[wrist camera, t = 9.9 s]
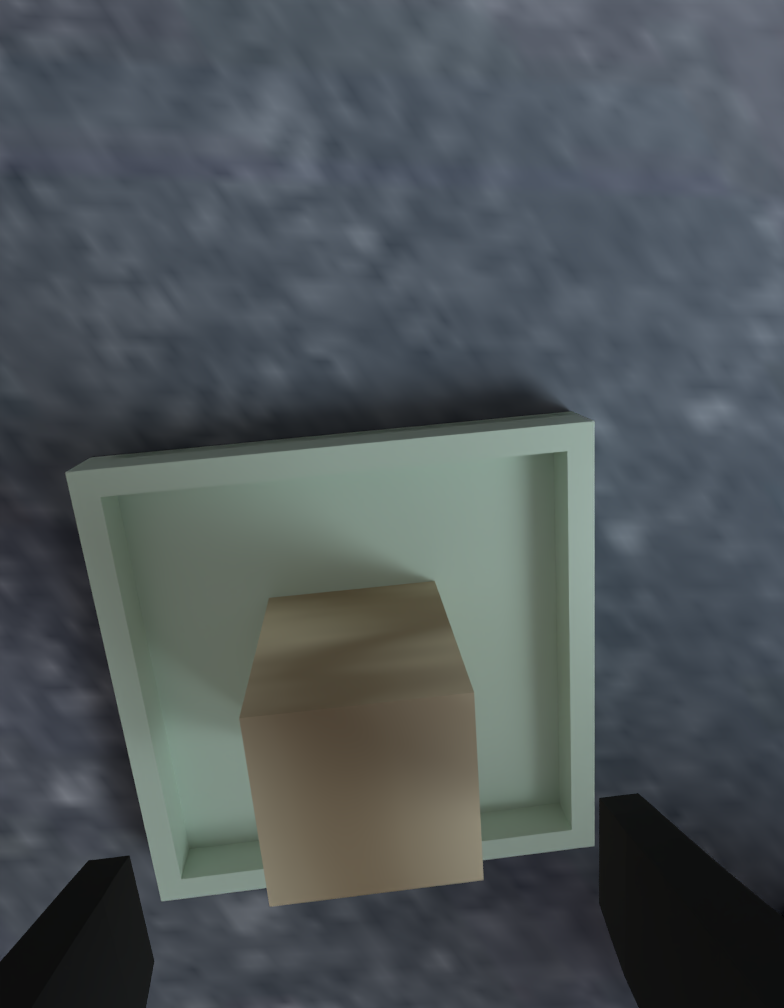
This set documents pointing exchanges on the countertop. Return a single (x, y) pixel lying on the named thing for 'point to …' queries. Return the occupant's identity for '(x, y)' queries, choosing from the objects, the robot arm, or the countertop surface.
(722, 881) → the robot arm
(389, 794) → the beech block
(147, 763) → the tray
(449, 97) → the countertop surface
